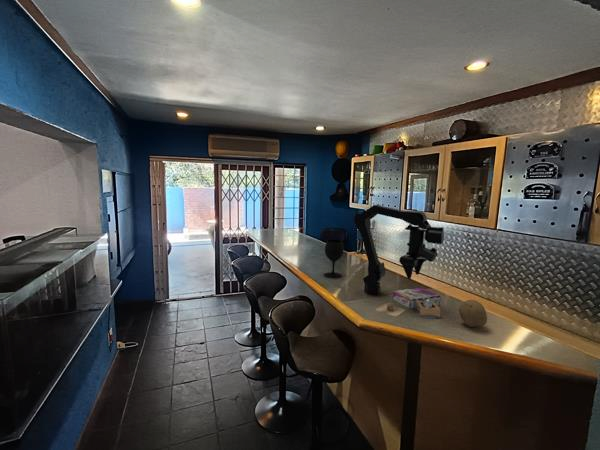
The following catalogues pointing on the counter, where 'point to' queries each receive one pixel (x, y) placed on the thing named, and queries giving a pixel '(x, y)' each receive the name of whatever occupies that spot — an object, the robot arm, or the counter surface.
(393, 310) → the stand
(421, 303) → the wooden square frame
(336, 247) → the wine glass
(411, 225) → the robot arm
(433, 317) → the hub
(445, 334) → the counter surface
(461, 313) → the natural sponge
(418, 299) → the candy bar box
